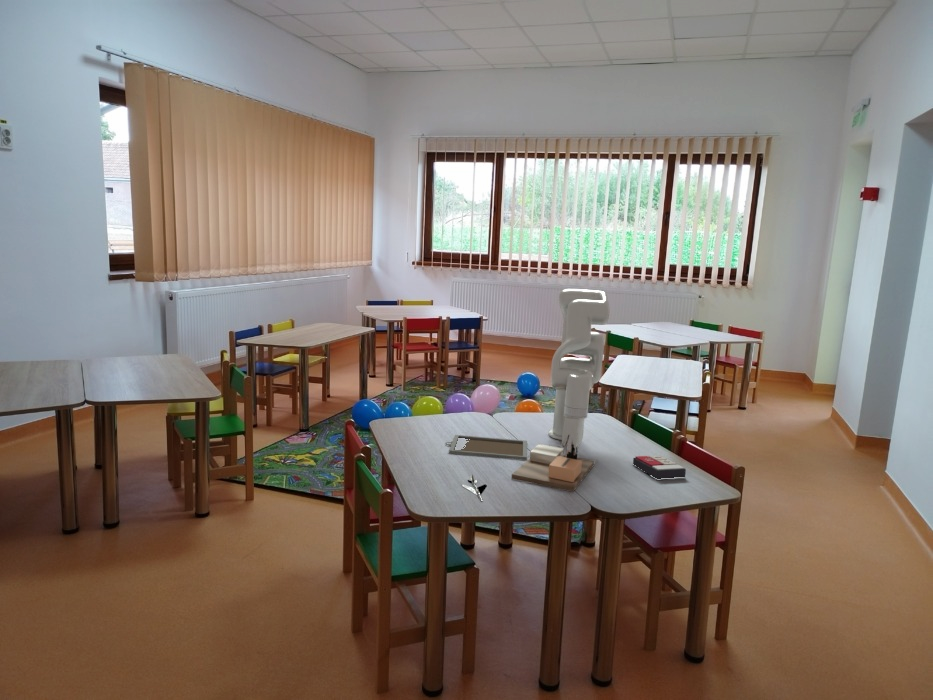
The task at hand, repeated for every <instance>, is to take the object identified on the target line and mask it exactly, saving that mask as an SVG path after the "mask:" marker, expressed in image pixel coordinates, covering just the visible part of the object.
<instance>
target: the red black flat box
mask: <svg viewBox="0 0 933 700" xmlns="http://www.w3.org/2000/svg"><path fill="white" fill-rule="evenodd" d="M632 460H633V461H632V465H633V464H634V465H636V466H637V467H639V468H640V469H642V470H643V471H645V472H647V473H648V474H650V475H652V476H653V477H655V478H657V479H661V478H674V477H685V478H686V472H687V471H686V468H685V467H684V466H681V465H679V464H677V463H676V462H674V461H672V460H670V459H668V458H666V457H665V456H662V455H661V454H660V455H659V454H658V455H638V456H636V455H635V457H633V458H632ZM634 465H633V466H634ZM637 467H636V468H637ZM640 469H639V470H640ZM643 471H642V472H643ZM645 472H644V473H645ZM647 473H646V474H647ZM648 474H647V475H648Z"/></svg>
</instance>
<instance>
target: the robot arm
mask: <svg viewBox="0 0 933 700" xmlns="http://www.w3.org/2000/svg"><path fill="white" fill-rule="evenodd" d="M558 303H559V304H558V305H559V307H560V311H561V313H562V318H563V319H562V320H563V323H562V333H561V345H560V346H559V347H558V348H557V349H556V350H555V352H554V354H553V356H552V359H551V367H550V385H551V387H552V388H553V389H554V390H555V399H554V400H555V401H554V411H553V421H552V422H553V424H552V429H550V430H549V431H548V436H549V437H550V438H553V439H556V440H559V441H561V446H562V447H565V446H567V447H566V455H567V457H566V458H571V459H576V460H577V458H578V452H579V446H580V444H581V443H582V442H583V439H584V430H585V429H584V428H585V419H587V418H588V412H589V401H590V391H591V389H592V388H594V384H597V383H598V382H599V381H600V380H601V377H602V376H601V375H602V369H603V359H604V358H603V357H604V350H605V349H604V348H605V341H604V337H603V335H602V334H601V333H600V332H597V331H592V325H599V326H603V325H606V324H607V323H608V321H609V320H610V303H609V298H608V296H607V293H606V292H605V291H602V290H598V289H597V290H593V289H580V288H565V289H562V290H560V292H559V295H558ZM566 355H568V356H569V355H570V356H569V357H567V356H566ZM565 356H566V357H565ZM572 356H578V357H572ZM581 357H588V358H581ZM589 357H590V358H589Z"/></svg>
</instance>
